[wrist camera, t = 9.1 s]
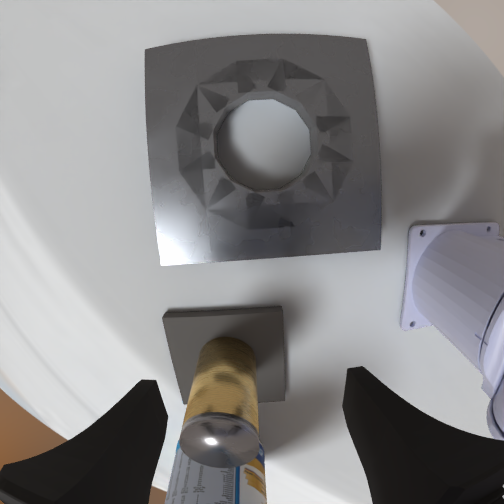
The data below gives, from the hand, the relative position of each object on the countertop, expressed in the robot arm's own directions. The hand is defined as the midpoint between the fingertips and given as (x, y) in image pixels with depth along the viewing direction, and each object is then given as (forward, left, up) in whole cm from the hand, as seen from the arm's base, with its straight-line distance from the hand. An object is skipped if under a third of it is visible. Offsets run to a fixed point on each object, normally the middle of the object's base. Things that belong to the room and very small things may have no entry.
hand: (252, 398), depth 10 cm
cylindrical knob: (+2, +5, -9) cm, 10 cm away
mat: (+2, +5, -10) cm, 11 cm away
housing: (-1, -9, -10) cm, 14 cm away
